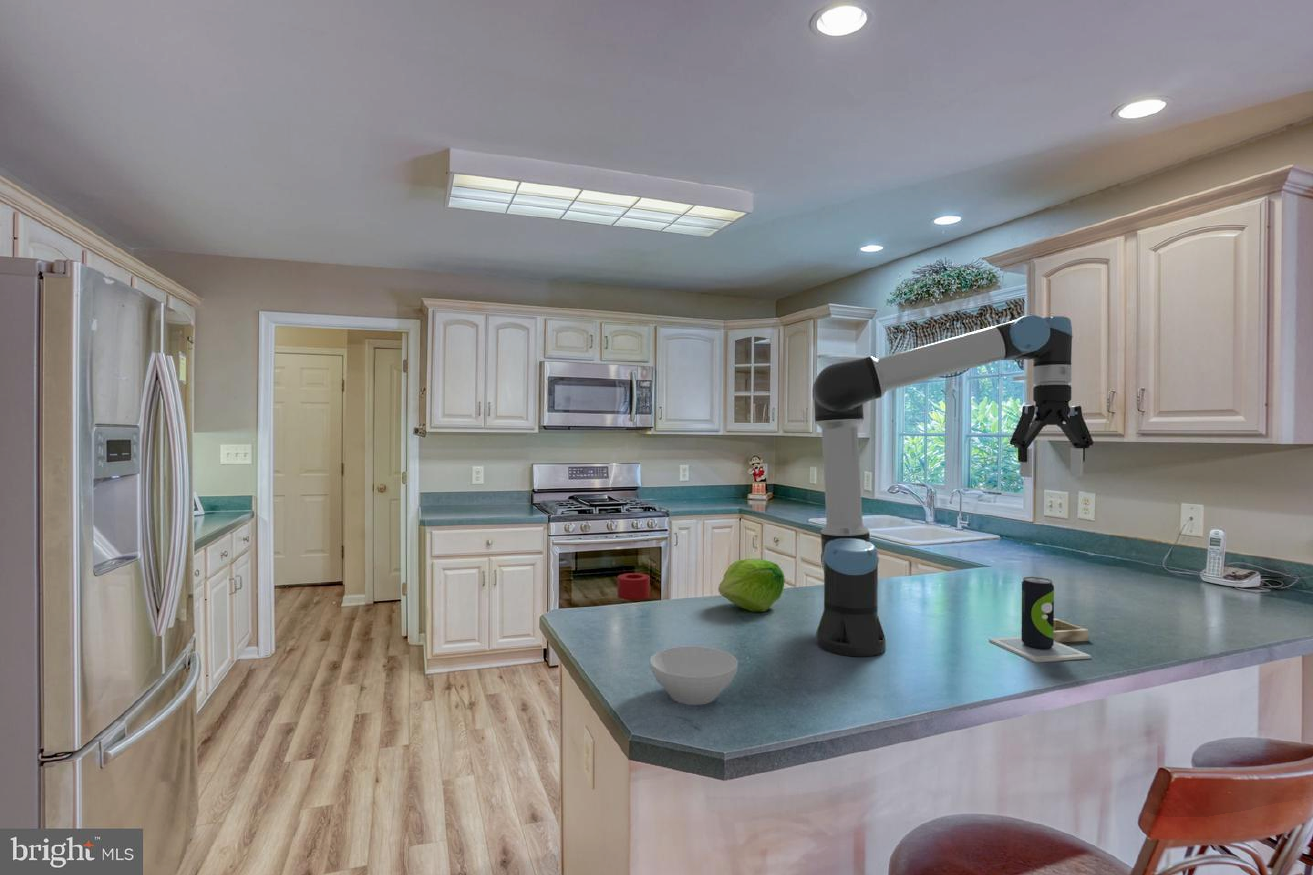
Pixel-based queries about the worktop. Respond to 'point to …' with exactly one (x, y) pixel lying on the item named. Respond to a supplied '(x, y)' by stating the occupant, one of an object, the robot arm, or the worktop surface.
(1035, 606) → the beverage can
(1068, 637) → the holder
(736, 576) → the lettuce
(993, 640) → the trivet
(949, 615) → the worktop surface
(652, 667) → the bowl
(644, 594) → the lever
